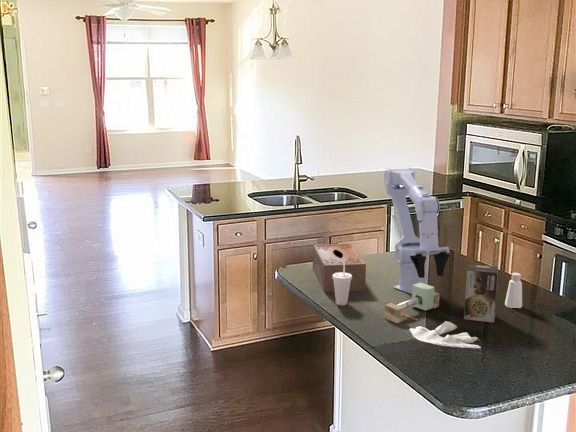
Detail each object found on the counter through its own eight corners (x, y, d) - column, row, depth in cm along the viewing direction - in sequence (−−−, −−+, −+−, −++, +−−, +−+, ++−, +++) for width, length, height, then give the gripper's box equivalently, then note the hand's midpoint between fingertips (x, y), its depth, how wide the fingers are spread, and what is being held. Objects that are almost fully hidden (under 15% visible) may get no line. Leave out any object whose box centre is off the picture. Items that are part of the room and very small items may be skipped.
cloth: (398, 330, 181) (399, 322, 180) (457, 318, 189) (458, 311, 189) (442, 359, 163) (442, 351, 162) (505, 345, 171) (506, 337, 171)
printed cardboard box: (494, 315, 190) (499, 266, 187) (494, 323, 184) (498, 272, 181) (464, 311, 193) (468, 263, 189) (463, 319, 187) (466, 269, 184)
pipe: (429, 296, 200) (430, 290, 199) (435, 298, 198) (436, 292, 197) (388, 312, 186) (388, 305, 186) (394, 314, 184) (394, 308, 184)
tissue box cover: (312, 269, 235) (312, 244, 232) (349, 268, 236) (350, 243, 234) (324, 293, 210) (324, 265, 207) (365, 291, 211) (365, 264, 209)
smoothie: (350, 307, 196) (351, 266, 193) (330, 305, 197) (331, 264, 194) (352, 300, 202) (353, 260, 199) (333, 298, 203) (333, 258, 200)
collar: (418, 302, 199) (419, 282, 197) (433, 307, 195) (434, 286, 193) (411, 305, 196) (412, 285, 195) (425, 310, 192) (426, 289, 191)
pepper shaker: (522, 304, 199) (526, 272, 197) (521, 310, 195) (524, 277, 192) (505, 301, 202) (508, 270, 199) (503, 307, 197) (506, 275, 194)
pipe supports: (419, 299, 203) (420, 287, 202) (445, 308, 196) (446, 295, 195) (378, 315, 189) (378, 302, 188) (404, 325, 182) (404, 312, 181)
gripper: (418, 235, 189) (420, 279, 189) (454, 233, 195) (456, 275, 195) (404, 235, 195) (406, 278, 195) (440, 233, 202) (442, 274, 201)
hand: (430, 276), depth 195 cm, fingers open, 7 cm apart
